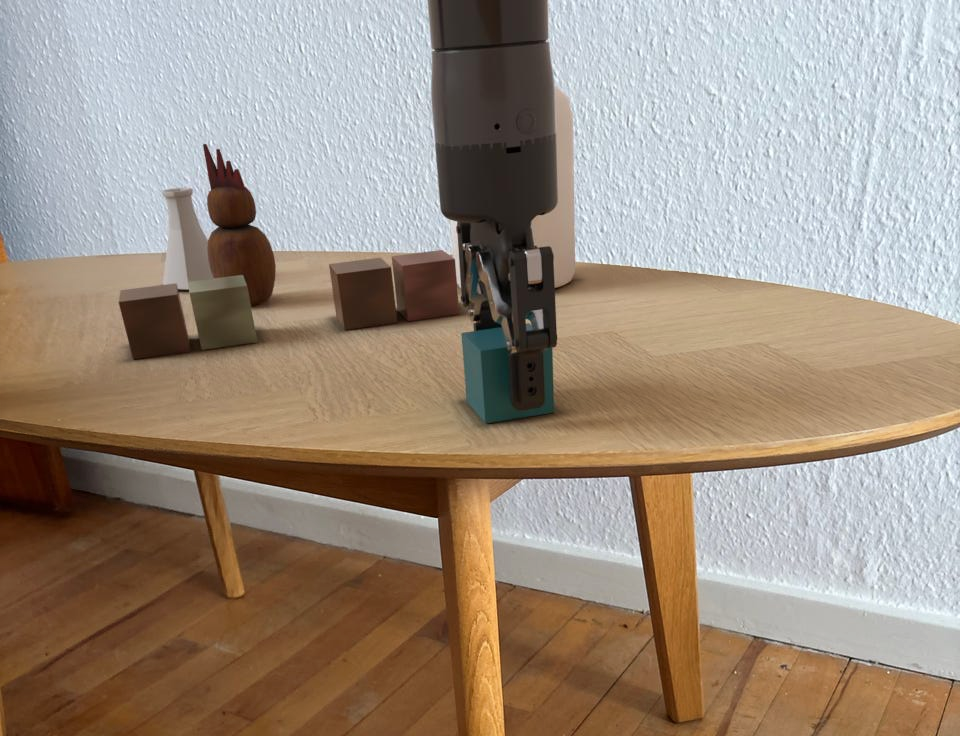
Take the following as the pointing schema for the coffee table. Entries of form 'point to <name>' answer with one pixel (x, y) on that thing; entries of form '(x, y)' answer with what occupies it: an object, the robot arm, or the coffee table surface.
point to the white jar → (561, 220)
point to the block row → (228, 313)
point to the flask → (184, 241)
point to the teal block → (497, 377)
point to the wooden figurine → (237, 232)
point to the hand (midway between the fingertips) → (509, 389)
